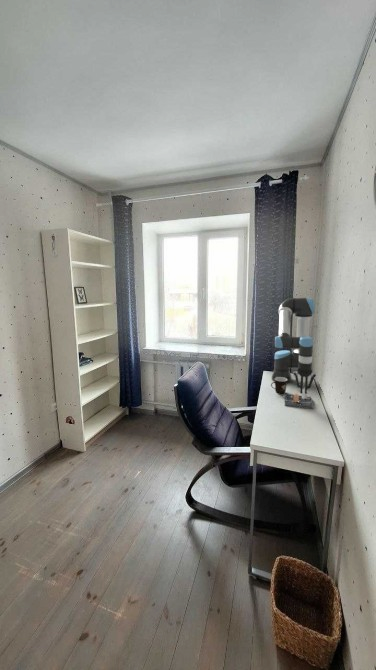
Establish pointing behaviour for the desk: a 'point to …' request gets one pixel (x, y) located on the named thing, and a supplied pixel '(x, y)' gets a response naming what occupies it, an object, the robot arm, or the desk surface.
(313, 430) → the desk surface
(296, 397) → the fader terracotta
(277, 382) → the coffee mug
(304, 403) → the console
